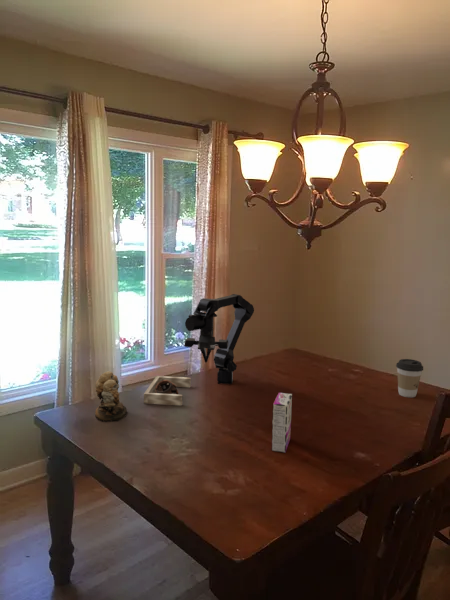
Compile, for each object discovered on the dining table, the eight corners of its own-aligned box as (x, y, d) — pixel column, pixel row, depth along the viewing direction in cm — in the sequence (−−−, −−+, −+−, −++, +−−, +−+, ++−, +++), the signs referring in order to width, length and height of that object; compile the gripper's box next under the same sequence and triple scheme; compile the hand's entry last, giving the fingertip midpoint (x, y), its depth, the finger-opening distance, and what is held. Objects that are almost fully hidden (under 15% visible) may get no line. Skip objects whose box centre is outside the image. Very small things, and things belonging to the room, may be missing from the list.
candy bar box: (276, 436, 170) (278, 391, 168) (290, 438, 169) (292, 393, 166) (270, 451, 160) (272, 403, 157) (285, 453, 158) (288, 405, 156)
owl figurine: (128, 422, 179) (127, 378, 176) (95, 425, 176) (93, 380, 173) (125, 404, 196) (124, 363, 193) (95, 406, 193) (94, 365, 190)
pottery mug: (183, 399, 205) (177, 385, 200) (163, 411, 202) (157, 397, 198) (172, 383, 214) (166, 370, 210) (153, 395, 212) (147, 381, 207)
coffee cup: (416, 401, 208) (419, 367, 205) (390, 395, 214) (392, 362, 212) (424, 394, 217) (427, 361, 214) (398, 388, 223) (401, 356, 221)
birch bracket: (190, 386, 219) (190, 377, 218) (181, 405, 196) (181, 395, 196) (156, 384, 220) (156, 375, 220) (143, 403, 198) (143, 393, 197)
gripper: (182, 330, 205) (182, 366, 208) (226, 332, 204) (225, 368, 206) (186, 325, 216) (186, 359, 219) (228, 327, 215) (227, 361, 217)
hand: (206, 362), depth 215 cm, fingers closed
